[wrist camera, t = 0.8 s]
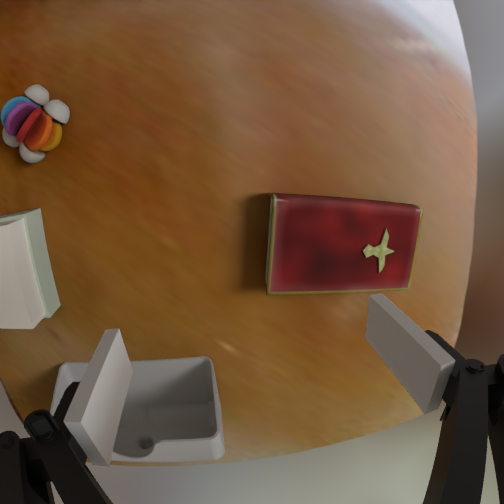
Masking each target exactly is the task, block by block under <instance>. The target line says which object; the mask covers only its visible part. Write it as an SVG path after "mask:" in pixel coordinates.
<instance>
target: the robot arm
mask: <svg viewBox="0 0 504 504" xmlns="http://www.w3.org/2000/svg"><path fill="white" fill-rule="evenodd" d="M365 338H366V340H367V341H368V342H369V343H370V345H371V346H372V347H373V348H374V350H375V351H376V352H377V353H378V355H379V356H380V357H381V358H382V360H383V361H384V362H385V363H386V365H387V366H388V367H389V369H390V370H391V371H392V372H393V374H394V375H395V376H396V377H397V379H398V380H399V381H400V383H401V384H402V385H403V386H404V388H405V389H406V390H407V392H408V393H409V394H410V395H411V397H412V398H413V399H414V401H415V402H416V403H417V405H418V406H419V407H420V409H421V410H422V411H423V412H424V414H426V413H429V412H431V411H434V410H436V409H438V408H439V405H440V403H441V400H442V399H443V400H444V401H445V402H446V407H445V409H444V411H443V414H442V416H441V418H440V421H442V419H443V421H442V427H441V432H440V437H439V443H438V447H437V452H436V457H435V461H434V465H433V469H432V473H431V477H430V481H429V485H428V488H427V491H426V495H425V498H424V501H423V504H480V501H481V494H482V488H483V481H484V473H485V464H486V453H487V438H488V436H489V440H490V444H491V450H492V454H493V460H494V465H495V472H496V478H497V485H498V491H499V501H500V504H504V354H502V355H501V356H500V357H499V359H498V362H497V364H493V365H487V366H485V365H484V363H483V362H481V361H479V360H475V359H467V360H466V359H465V358H464V357H463V356H461V355H460V354H459V353H458V352H457V351H456V350H455V349H454V348H453V347H452V346H450V345H449V344H448V343H447V342H446V341H444V339H443V338H442V337H440V336H439V335H438V334H437V333H434V332H432V331H430V330H427V331H423V330H422V329H421V328H420V327H419V326H418V325H417V324H416V323H415V322H414V321H412V320H411V319H410V318H409V317H408V316H407V315H406V314H405V313H404V312H402V311H401V310H400V309H399V308H398V307H397V306H396V305H395V304H393V303H392V302H391V301H390V300H389V299H388V298H387V297H385V296H384V295H383V294H382V293H379V294H374V295H369V306H368V317H367V328H366V337H365ZM132 373H133V369H132V366H131V363H130V361H129V358H128V355H127V352H126V349H125V346H124V343H123V339H122V336H121V333H120V330H119V329H106V330H105V332H104V334H103V336H102V338H101V340H100V342H99V344H98V346H97V348H96V350H95V352H94V354H93V356H92V358H91V360H90V362H89V365H88V367H87V369H86V371H85V373H84V375H83V377H82V380H81V382H72V383H71V384H70V385H69V386H68V387H67V388H66V390H65V392H64V394H63V396H62V397H63V398H61V400H60V402H59V403H60V404H58V406H57V409H56V411H55V413H54V415H53V416H52V415H51V414H50V412H49V411H46V410H36V411H33V412H32V413H30V414H29V415H28V416H27V417H26V418H25V421H24V428H25V429H26V430H27V432H28V434H29V435H30V436H31V437H30V438H22V439H20V438H19V436H18V435H17V434H16V433H15V432H13V431H5V432H3V433H1V434H0V504H55V502H54V498H53V493H52V488H51V483H50V482H51V481H52V482H53V484H54V486H55V488H56V490H57V492H58V494H59V495H60V497H61V499H62V501H63V503H64V504H113V503H112V502H111V500H110V499H109V498H108V496H107V495H106V494H105V492H104V491H103V489H102V488H101V487H100V485H99V484H98V482H97V481H96V479H95V478H94V476H93V475H92V473H91V472H90V470H89V469H88V467H87V466H86V465H85V463H86V459H87V458H88V459H89V460H90V462H91V463H92V464H93V465H99V466H109V465H110V461H111V456H112V452H113V447H114V443H115V438H116V434H117V430H118V426H119V422H120V418H121V414H122V410H123V406H124V402H125V398H126V395H127V391H128V387H129V384H130V380H131V377H132Z"/></svg>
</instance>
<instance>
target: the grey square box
mask: <svg viewBox="0 0 504 504" xmlns="http://www.w3.org/2000/svg"><path fill="white" fill-rule="evenodd" d="M60 306H61V304H60V301H59V297H58V293H57V289H56V286H55V282H54V277H53V273H52V269H51V264H50V260H49V255H48V250H47V245H46V239H45V234H44V228H43V222H42V215H41V208H39V209H34V210H28V211H23V212H17V213H12V214H7V215H2V216H0V328H7V329H34V328H35V326H36V325H37V324H38V323H39V322H40V321H41V320H42V318H50V317H51V316H52V315H53V314H54V312H55V311H56V310H57V309H58V308H59V307H60Z"/></svg>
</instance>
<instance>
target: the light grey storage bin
mask: <svg viewBox="0 0 504 504" xmlns="http://www.w3.org/2000/svg"><path fill="white" fill-rule="evenodd" d="M130 363H131V366H132V369H133V373H132V377H131V380H130V384H129V387H128V391H127V395H126V398H125V402H124V406H123V410H122V414H121V418H120V422H119V426H118V430H117V434H116V438H115V443H114V447H113V452H112V456H111V460H113V461H131V462H187V461H205V460H216V459H219V458H221V457H222V456H223V455H224V453H225V447H224V437H223V427H222V416H221V405H220V400H219V394H218V389H217V383H216V378H215V372H214V366H213V362H212V360H211V359H210V358H209V357H207V356H202V357H191V358H179V359H165V360H148V361H130ZM88 365H89V362H65V363H63V364H62V365H61V366H60V368H59V372H58V376H57V380H56V385H55V389H54V394H53V399H52V404H51V409H50V414H51V415H52V416H53V415H54V413H55V411H56V409H57V406H58V404H60V403H59V402H60V400H61V398H63V397H62V396H63V394H64V392H65V390H66V388H67V387H68V386H69V385H70V384H71V383H72V382H81V380H82V377H83V375H84V373H85V371H86V369H87V367H88Z"/></svg>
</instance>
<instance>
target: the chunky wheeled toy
mask: <svg viewBox="0 0 504 504" xmlns="http://www.w3.org/2000/svg"><path fill="white" fill-rule="evenodd" d="M24 94H25V95H26V96H27V97H23V96H19V97H15V98H12V99H10V100H9V101H8V102H7V103H6V104H5V105H4V106H3V108H2V111H1V122H2V125H3V126H4V128H3V132H2V136H3V140H4V142H5V143H6V144H7V145H9V146H11V147H18V146H20V147H19V151H20V155H21V157H22V159H23V160H25V161H26V162H28V163H37V162H39V161H40V160H42V159H43V158H44V157H45V153H44V151H50V150H52V149H54V148H55V147H56V146H57V145H58V144H59V142H60V140H61V137H62V127H61V124H60V123H59V122H61V123H64V124H66V123H67V122H68V120H69V116H70V111H69V108H68V106H67V105H66V104H64V103H63V102H61V101H60V100H52V101H49V92H48V91H47V90H46V89H45V88H43V87H42V86H40V85H32V86H30V87H29V88H27V89H26V90H25V92H24ZM42 106H44V107H43V109H42ZM58 121H59V122H58Z"/></svg>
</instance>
